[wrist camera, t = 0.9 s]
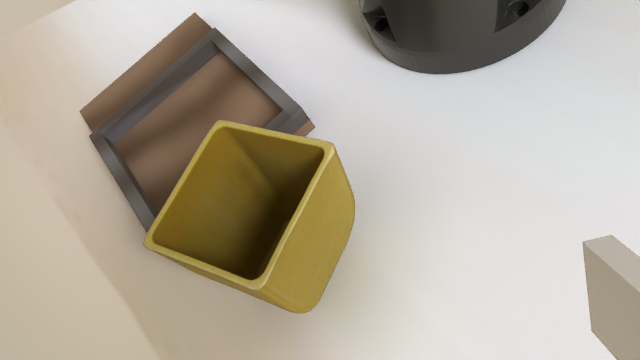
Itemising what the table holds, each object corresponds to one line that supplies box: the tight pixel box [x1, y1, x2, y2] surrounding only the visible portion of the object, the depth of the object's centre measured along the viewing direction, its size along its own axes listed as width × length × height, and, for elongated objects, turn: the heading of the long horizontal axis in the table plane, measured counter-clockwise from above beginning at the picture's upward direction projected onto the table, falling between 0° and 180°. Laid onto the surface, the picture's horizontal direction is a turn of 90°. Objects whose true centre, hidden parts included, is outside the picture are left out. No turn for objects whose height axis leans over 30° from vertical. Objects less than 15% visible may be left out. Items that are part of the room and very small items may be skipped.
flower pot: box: [143, 120, 355, 313], centre depth 37 cm, size 9×9×9 cm
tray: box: [80, 13, 315, 233], centre depth 50 cm, size 20×14×2 cm
